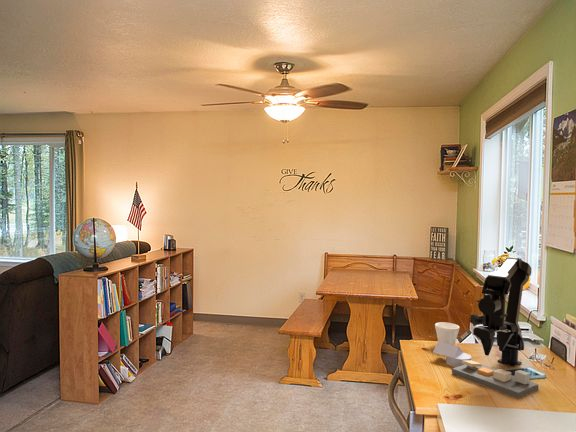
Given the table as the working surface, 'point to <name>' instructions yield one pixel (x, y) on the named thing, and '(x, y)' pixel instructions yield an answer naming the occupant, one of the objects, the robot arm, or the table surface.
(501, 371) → the off-white button
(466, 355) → the wedge on round base
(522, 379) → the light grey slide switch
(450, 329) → the cup
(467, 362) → the cream rectangular plate
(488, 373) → the orange button
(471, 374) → the control panel
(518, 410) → the table surface
